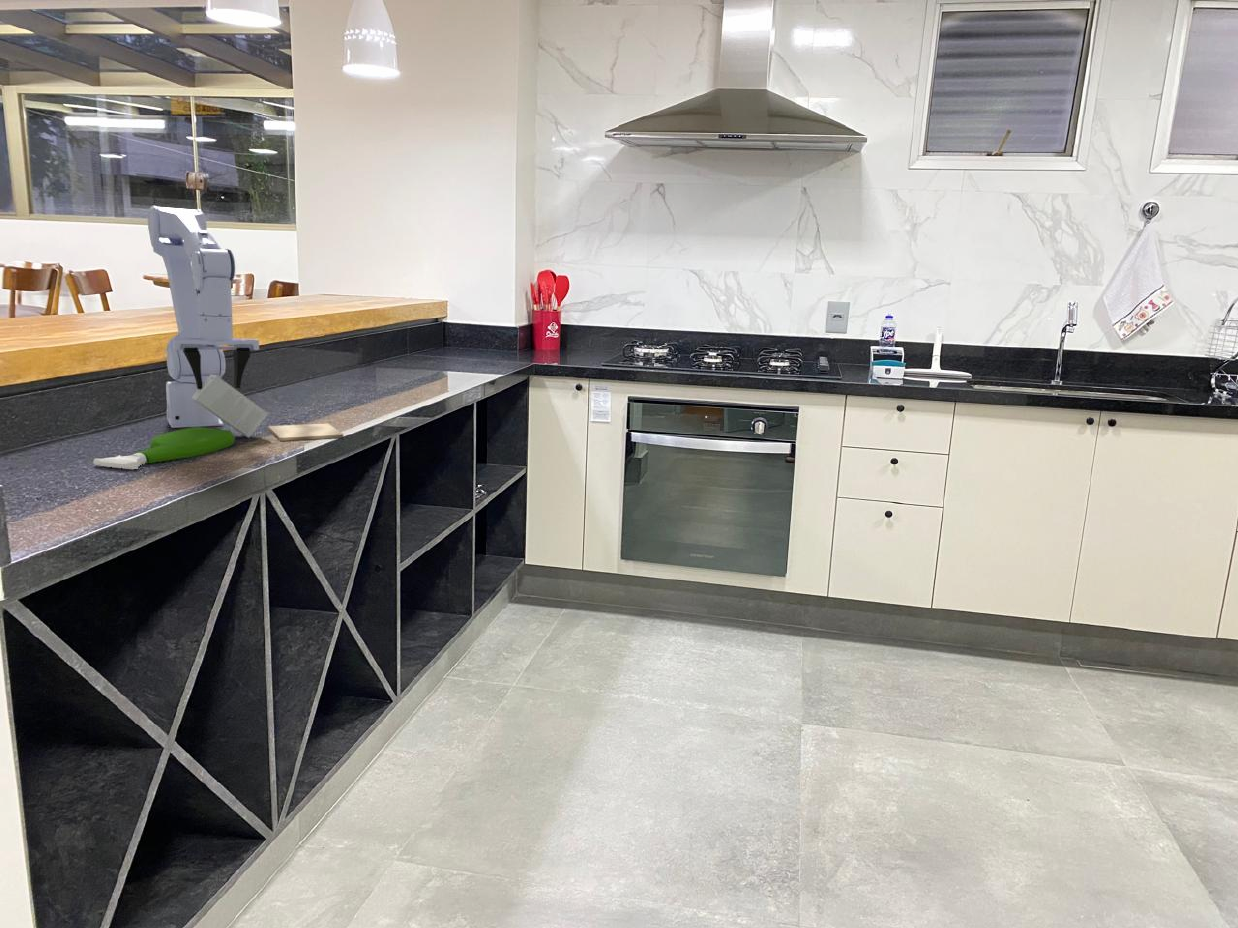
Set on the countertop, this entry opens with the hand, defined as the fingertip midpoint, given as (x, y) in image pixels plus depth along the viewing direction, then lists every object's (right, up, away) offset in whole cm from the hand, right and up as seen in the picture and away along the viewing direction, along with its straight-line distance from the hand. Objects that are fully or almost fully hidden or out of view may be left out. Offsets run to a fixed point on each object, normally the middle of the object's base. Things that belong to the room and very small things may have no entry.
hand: (218, 388), depth 167 cm
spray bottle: (-3, -13, -13) cm, 19 cm away
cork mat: (+13, -8, +10) cm, 18 cm away
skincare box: (+5, -7, +5) cm, 10 cm away
